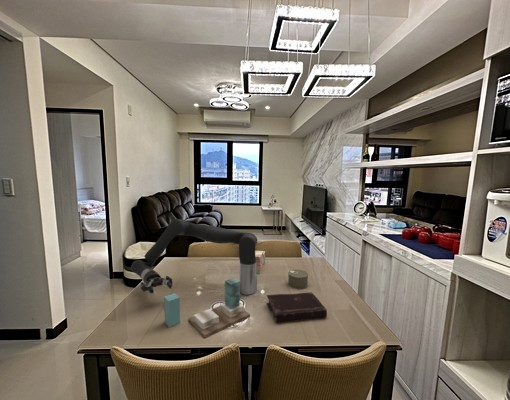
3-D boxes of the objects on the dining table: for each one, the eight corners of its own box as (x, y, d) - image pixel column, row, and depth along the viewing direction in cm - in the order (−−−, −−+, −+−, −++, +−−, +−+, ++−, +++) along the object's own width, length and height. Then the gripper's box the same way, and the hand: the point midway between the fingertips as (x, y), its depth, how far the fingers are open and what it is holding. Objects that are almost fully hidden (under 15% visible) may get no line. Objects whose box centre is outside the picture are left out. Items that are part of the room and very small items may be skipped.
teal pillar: (175, 317, 115) (175, 293, 114) (180, 322, 111) (179, 297, 110) (164, 322, 112) (164, 296, 111) (169, 327, 108) (168, 301, 107)
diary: (326, 319, 117) (327, 309, 117) (275, 325, 112) (276, 314, 112) (310, 299, 135) (310, 290, 135) (265, 303, 130) (266, 294, 130)
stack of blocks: (257, 262, 189) (257, 246, 187) (265, 263, 187) (265, 247, 186) (250, 273, 168) (251, 255, 166) (260, 274, 167) (260, 256, 165)
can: (301, 290, 144) (301, 279, 144) (284, 284, 152) (284, 273, 151) (311, 283, 153) (311, 273, 153) (294, 278, 161) (294, 268, 160)
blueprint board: (231, 303, 128) (231, 273, 127) (250, 316, 117) (250, 283, 115) (188, 321, 113) (187, 286, 111) (204, 337, 102) (204, 300, 100)
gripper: (136, 273, 126) (146, 285, 114) (164, 267, 135) (176, 277, 123) (136, 287, 127) (146, 301, 115) (164, 280, 136) (176, 292, 124)
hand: (161, 289), depth 119 cm, fingers open, 8 cm apart
